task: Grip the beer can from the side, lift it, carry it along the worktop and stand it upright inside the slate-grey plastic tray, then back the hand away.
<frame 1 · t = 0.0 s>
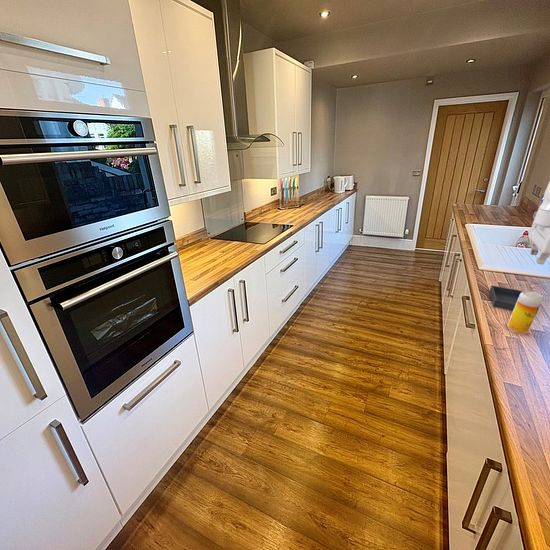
hand: (536, 258, 99), 26 cm above the counter, tool pointing down, fingers open, 8 cm apart
tray: (506, 301, 124), on the counter
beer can: (516, 330, 106), on the counter
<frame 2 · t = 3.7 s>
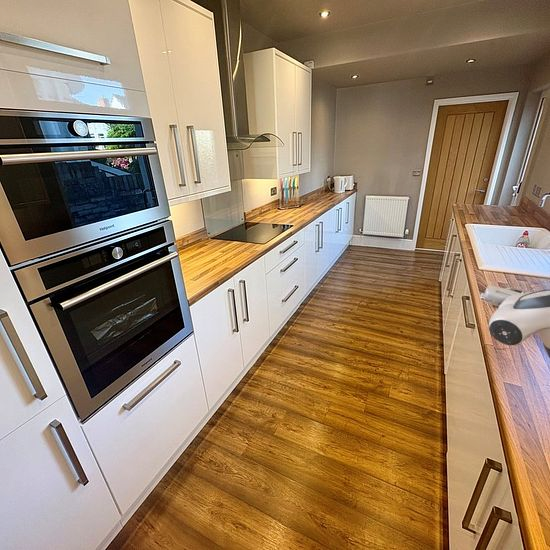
hand: (529, 294, 90), 19 cm above the counter, tool horizontal, fingers open, 8 cm apart
nothing on the counter moved.
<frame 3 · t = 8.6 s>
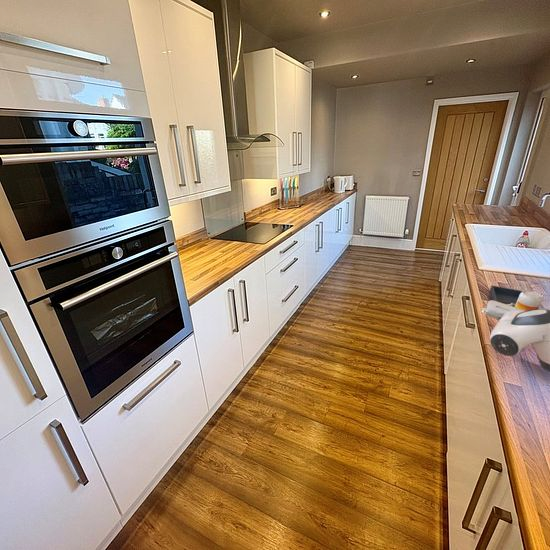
hand: (525, 309, 103), 9 cm above the counter, tool horizontal, fingers closed on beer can, 6 cm apart
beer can: (516, 330, 106), on the counter, touching gripper
when the fingers open (9 cm above the counter, at t = 16.4 s): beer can stays where it is, resting on tray.
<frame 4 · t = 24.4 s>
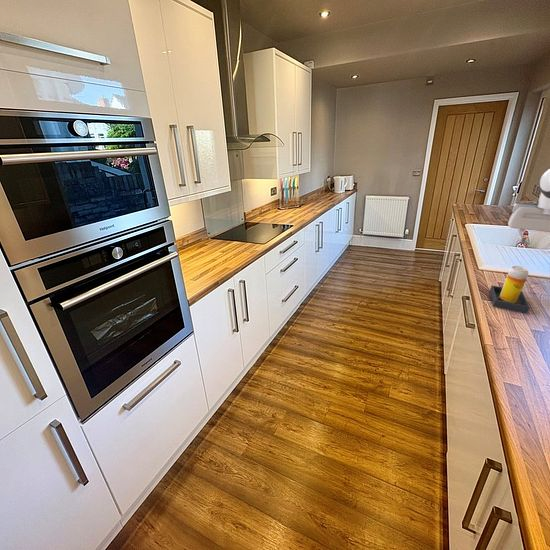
hand: (538, 243, 98), 31 cm above the counter, tool pointing down, fingers open, 8 cm apart
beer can: (507, 301, 124), resting on tray
at the end: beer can inside the target area in the tray (0.2 cm from its centre), point 0.4 cm above the tray's base; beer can tilted 0°; the gripper is holding nothing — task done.
